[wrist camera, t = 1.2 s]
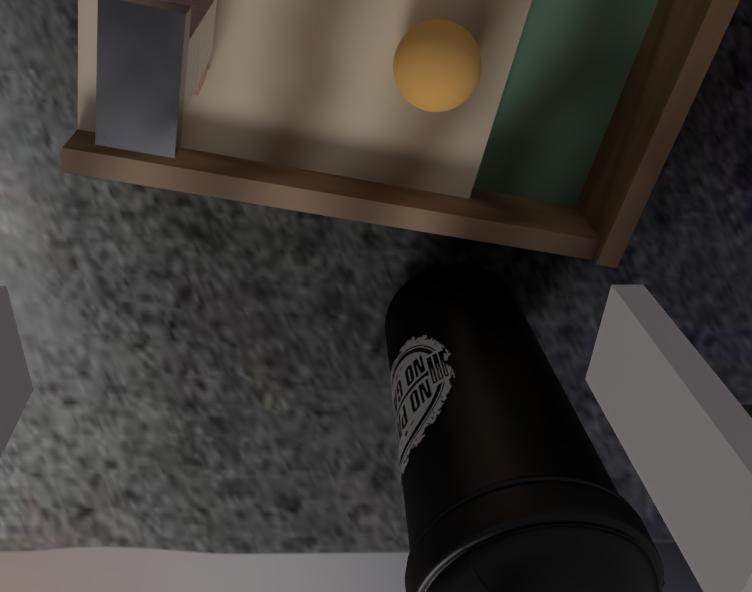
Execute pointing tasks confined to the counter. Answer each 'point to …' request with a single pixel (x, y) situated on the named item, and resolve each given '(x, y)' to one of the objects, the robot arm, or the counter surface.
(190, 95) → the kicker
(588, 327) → the counter surface
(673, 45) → the lane
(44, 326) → the counter surface
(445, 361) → the water bottle
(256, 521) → the counter surface
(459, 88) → the ball
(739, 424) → the robot arm
